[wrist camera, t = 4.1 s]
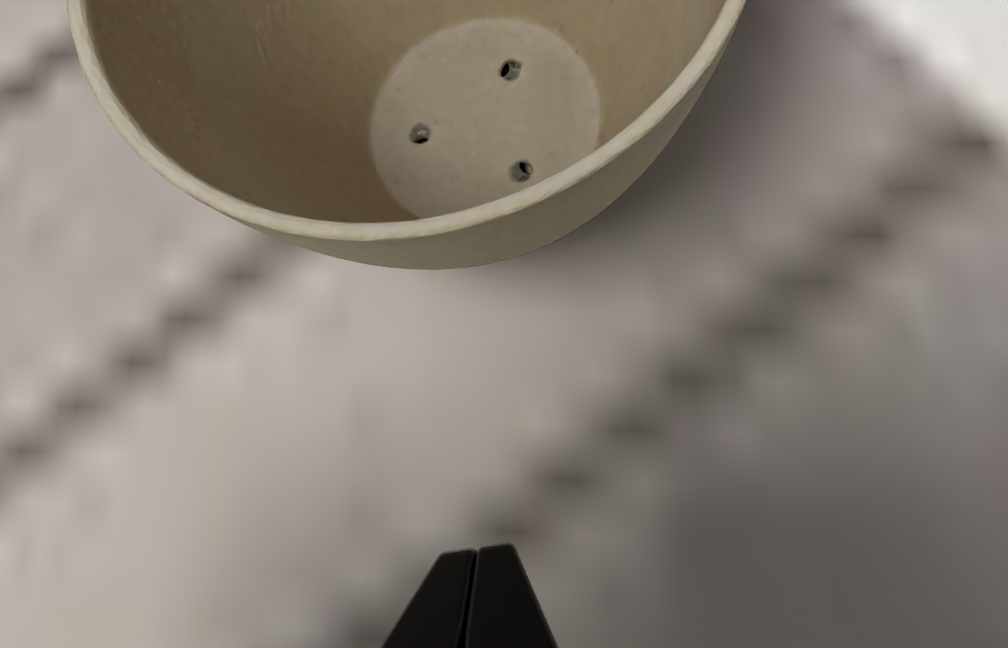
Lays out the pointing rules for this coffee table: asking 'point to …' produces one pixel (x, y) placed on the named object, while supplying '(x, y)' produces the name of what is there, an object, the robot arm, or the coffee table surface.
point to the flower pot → (402, 112)
